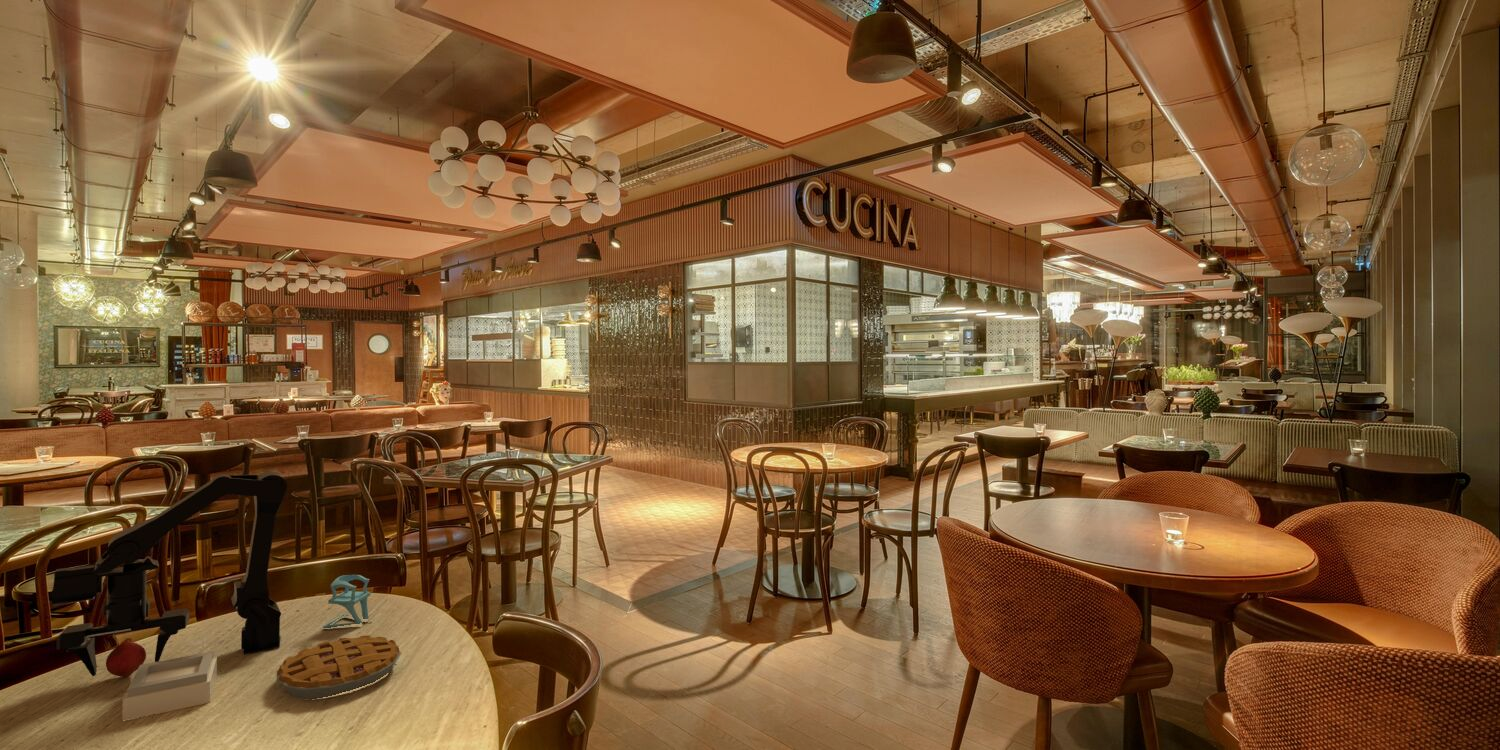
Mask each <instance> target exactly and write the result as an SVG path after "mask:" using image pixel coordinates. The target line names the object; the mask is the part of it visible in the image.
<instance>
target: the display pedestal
mask: <svg viewBox="0 0 1500 750" xmlns="http://www.w3.org/2000/svg"><path fill="white" fill-rule="evenodd" d="M214 655H215V652H214V651H208V652H204V653H203V652H202V653H196V654H191V655H187V656H181V657H175V658H170V659H165V660H159V662H155V661H154V662H149V663H143V664H142V665H140V666H139V668H138V669H137V670H136V671H135V673H134V676H133V678H132V680H131V682H130V683H129V686H128V688H127V689H126V693H125V694H124V696H123V698H122V721H123V720H127V719H132V718H137V717H141V718H143V717H142V716H146V717H148V716H147V715H150V716H154V715H153V714H155V715H159V714H163V713H167V712H172V711H177V710H182V709H185V708H191V707H195V706H199V705H203V704H204V705H205V704H209V703H211V699H212V694H213V693H214V687H215V685H216V680H217V677H218V676H217V674H218V657H217V656H216V657H215V656H214ZM137 719H138V718H137ZM132 720H133V719H132Z"/></svg>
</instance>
